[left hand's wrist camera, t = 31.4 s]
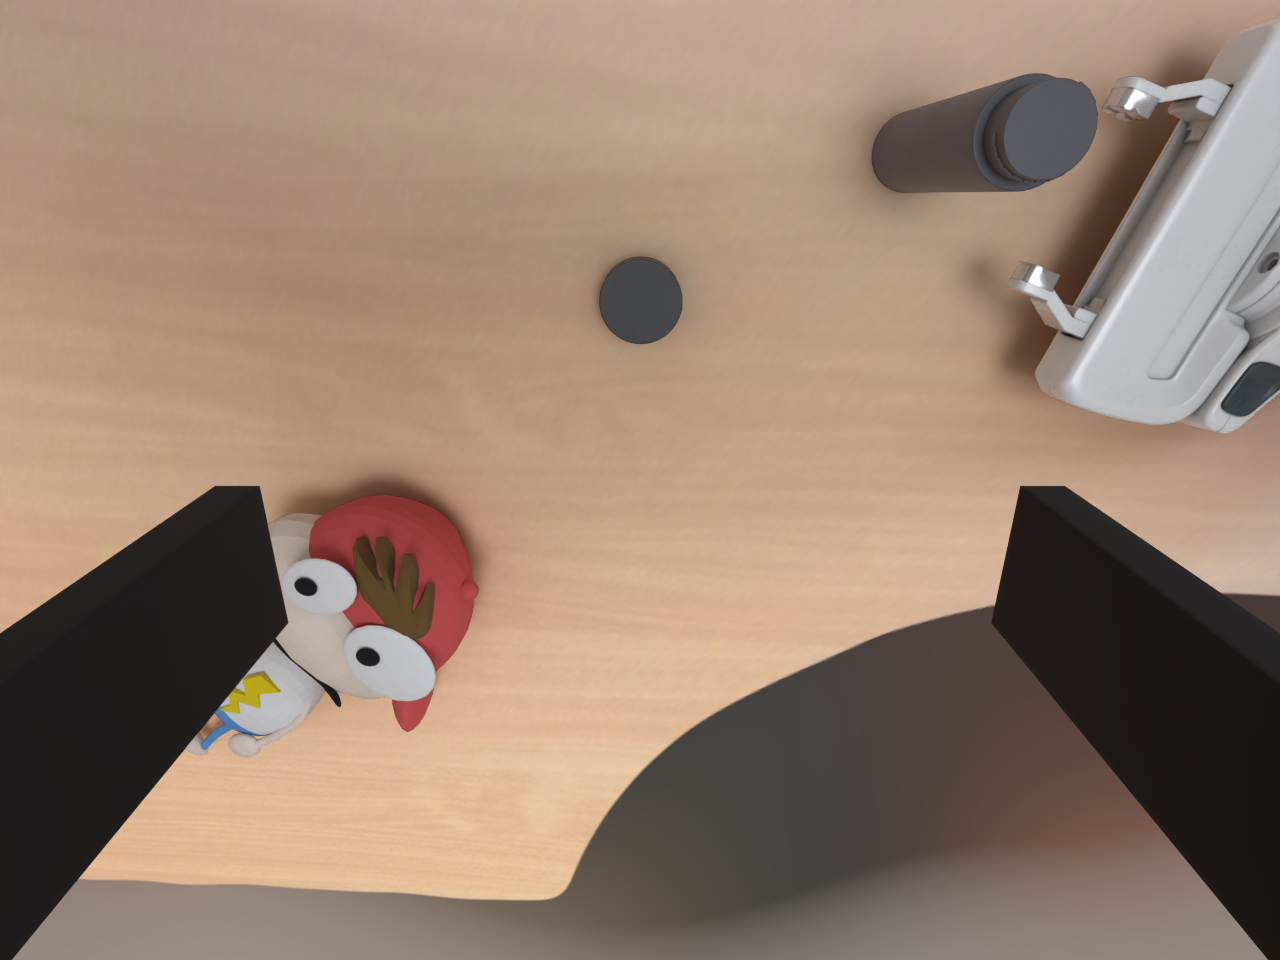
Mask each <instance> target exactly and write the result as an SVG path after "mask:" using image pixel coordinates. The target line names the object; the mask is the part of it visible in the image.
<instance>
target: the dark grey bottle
mask: <svg viewBox="0 0 1280 960" xmlns="http://www.w3.org/2000/svg"><path fill="white" fill-rule="evenodd" d="M1090 91H1091V90H1090V89H1089V88H1088V87H1087V86H1086V85H1085V84H1084V83H1082V82H1079V83H1078V82H1076V81H1074V80H1071V79H1067V78H1056V77H1053V76H1051V75H1047V74H1039V73H1034V74H1026V75H1022V76H1019V77H1016V78H1012V79H1009V80H1006V81H1003V82H1000V83H996V84H993V85H990V86H987V87H984V88H980V89H977V90H974V91H971V92H968V93H964V94H961V95H958V96H955V97H952V98H948V99H945V100H942V101H939V102H936V103H933V104H929V105H926V106H923V107H920V108H917V109H913V110H910V111H907V112H904V113H901V114H899V115H897V116H895V117H894V118H892V119H891V120H890V121H888V122H887V123H886V124H885V125H884V127H883V128H882V129H881V131H880V132H879V134H878V136H877V138H876V140H875V143H874V147H873V152H872V162H873V167H874V171H875V173H876V175H877V177H878V179H879V180H880V181H881V182H882V183H883V184H884V185H885V186H886V187H887V188H889V189H891V190H893V191H896V192H905V193H909V192H1017V191H1025V190H1030V189H1033V188H1035V187H1038V186H1040V185H1042V184H1044V183H1045V182H1048V181H1051V180H1053V179H1055V178H1058V177H1060V176H1062V175H1064V174H1065V173H1066V172H1068V171H1069V170H1071V169H1072V168H1073V167H1075V165H1077V164H1078V162H1079V161H1080V160H1081V159H1082V158H1083V157H1084V155H1085V154H1086V153H1087V151H1088V149H1089V148H1090V146H1091V144H1092V142H1093V139H1094V136H1095V132H1096V129H1097V115H1098V112H1097V108H1096V104H1095V102H1096V100H1095V99H1094V97H1093V95H1092V93H1091V92H1090Z"/></svg>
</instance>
